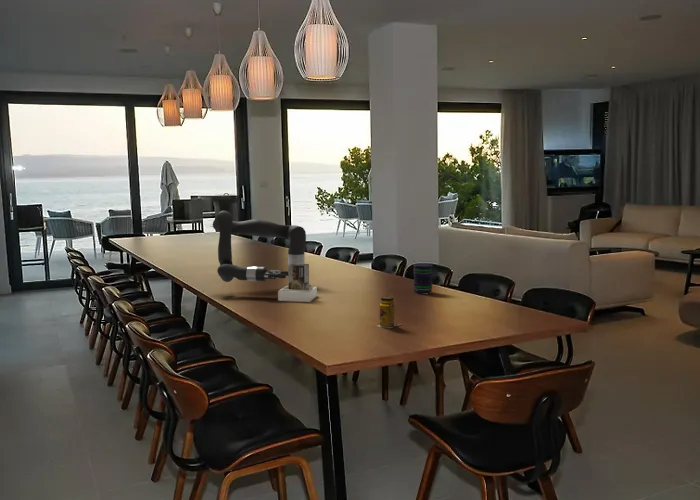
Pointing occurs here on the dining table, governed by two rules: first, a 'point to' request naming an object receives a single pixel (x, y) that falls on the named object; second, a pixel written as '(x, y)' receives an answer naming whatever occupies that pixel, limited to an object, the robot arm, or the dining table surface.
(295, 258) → the robot arm
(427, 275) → the storage jar
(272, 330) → the dining table surface
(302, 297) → the white square tray
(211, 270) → the dining table surface
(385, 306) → the condiment
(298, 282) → the coffee box
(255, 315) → the dining table surface
